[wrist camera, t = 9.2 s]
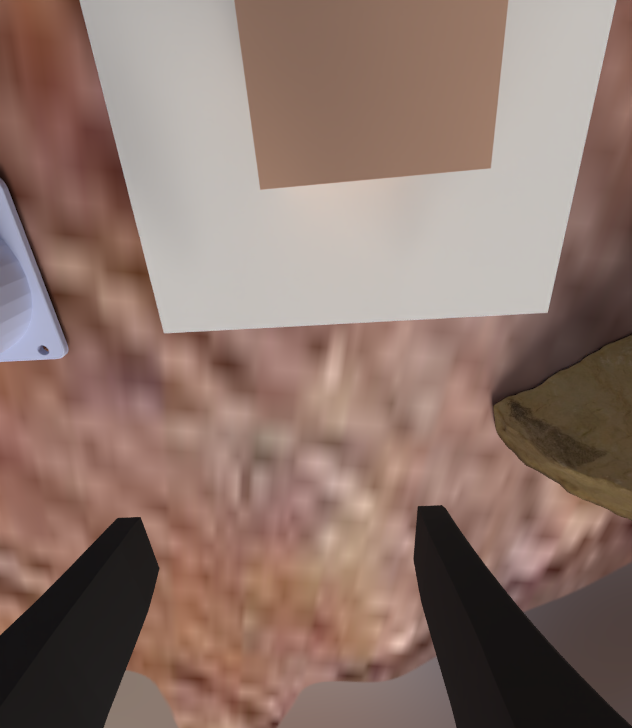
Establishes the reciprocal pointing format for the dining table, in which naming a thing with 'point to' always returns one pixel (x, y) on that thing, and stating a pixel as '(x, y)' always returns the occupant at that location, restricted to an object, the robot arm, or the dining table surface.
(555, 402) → the rock
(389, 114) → the terracotta block
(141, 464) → the dining table surface
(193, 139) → the base plinth
